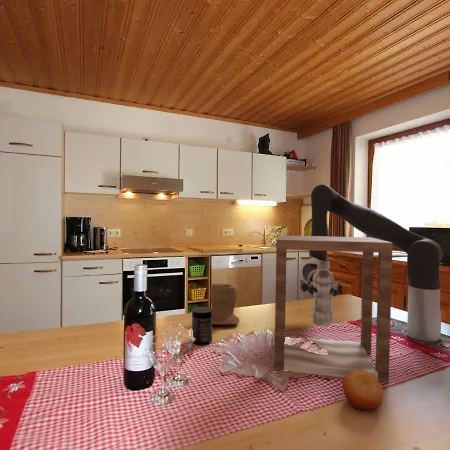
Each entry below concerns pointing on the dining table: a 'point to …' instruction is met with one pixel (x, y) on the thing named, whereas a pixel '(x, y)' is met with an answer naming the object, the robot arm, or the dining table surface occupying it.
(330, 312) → the plastic bottle
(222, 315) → the brown ankle boot
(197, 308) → the supplement container
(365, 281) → the walnut shelf
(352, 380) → the fruit
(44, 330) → the dining table surface
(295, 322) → the dining table surface
